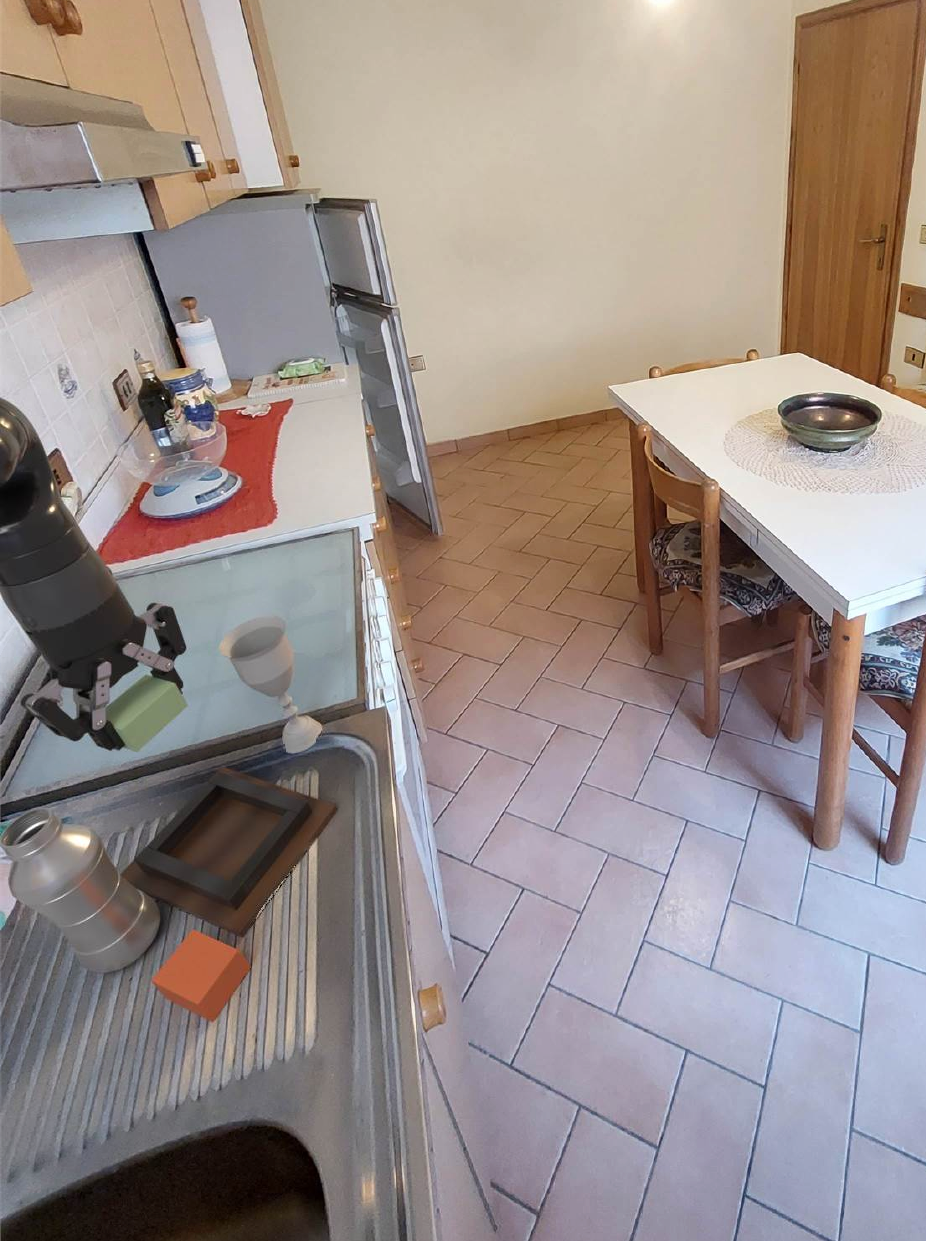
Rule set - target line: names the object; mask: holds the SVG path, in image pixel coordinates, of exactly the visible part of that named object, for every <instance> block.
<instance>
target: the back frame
mask: <svg viewBox="0 0 926 1241" xmlns="http://www.w3.org/2000/svg"><path fill="white" fill-rule="evenodd" d="M337 812H338V807H337V805H336V804H335V803H331V802H328V801H325V800H323V799H320V798H316V797H312V796H310V795H308V794H304V793H301V792H298V791H295V790H293V789H289V788H287V787H283V786H281V785H279V784H278V785H277V784H274V783H271V782H269V781H266V780H263V779H260V778H256V777H254V776H251V775H248V774H245V773H242V772H239V771H236V770H233V769H229V768H227V767H223V766H221V767H220V768H219V770H217V771H215V773H214V774H213V775H212V776H211V777H210V778H209V780H207V782H206V783H205V784H204V785H203V786H202V787H201V788H200V789H199V790H198V791H197V792H196V793H195V795H193V796H192V798H191V799H190V800H189V801H188V802H187V803H186V804H185V805H184V806H183V807H182V808H181V809H180V810H179V811H178V813H176V814H175V815H174V816H173V818H172V819H171V820H169V821H168V823H167V824H165V826H164V827H163V828H162V829H161V830H160V831H159V832H158V833H157V835H155V836H154V837H153V839H152V840H151V841H149V843H148V844H147V845H146V846H145V847H144V848H143V849H142V850H141V851H140V852H139V854H137V856H136V857H135V858H133V860H132V862H130V863H129V864H128V865H127V866H126V867H125V869H124V870H123V871H122V872H121V873H120V874H121V876H122V877H123V878H124V879H126V880H127V881H128V882H129V883H130V884H131V885H133V886H134V887H135V888H136V889H138V890H140V891H142V892H144V893H145V894H147V895H148V896H149V897H151V898H152V899H154V900H157V901H159V902H161V901H162V902H161V903H163V904H166V905H168V904H169V905H168V906H170V905H171V907H173V906H174V907H173V908H175V907H176V908H175V909H177V908H179V909H181V910H180V911H182V910H183V911H182V912H184V911H185V912H184V913H186V912H187V913H186V914H188V913H190V914H189V915H191V914H192V915H191V916H193V915H194V916H193V917H195V916H196V917H195V918H197V917H198V918H197V919H200V920H202V919H203V920H202V921H204V922H206V921H207V922H206V923H209V924H211V925H212V926H215V925H216V926H215V927H217V928H220V927H221V928H220V929H222V928H223V929H222V930H224V929H226V930H225V931H227V930H229V931H230V932H229V931H228V932H229V933H231V932H233V933H235V934H234V935H235V936H238V937H240V938H244V937H245V936H246V935H247V933H248V932H247V931H249V930H250V929H249V927H250V926H251V925H252V923H253V921H254V920H255V918H256V917H257V915H258V913H259V911H260V910H261V908H262V907H263V905H264V904H265V903H266V902H267V900H268V898H269V897H270V896H271V894H273V892H274V891H275V890H276V889H277V888H278V886H279V885H280V884H281V882H282V881H283V880H284V879H285V878H286V877H287V875H288V874H289V873H290V872H291V870H292V868H294V866H295V865H296V864H297V863H298V862H299V863H300V862H301V860H302V859H301V858H303V857H304V856H305V855H304V853H305V852H306V851H307V850H309V849H310V848H311V847H312V846H313V844H314V843H315V841H316V840H317V839H318V837H319V836H320V835H321V833H322V832H323V830H324V829H325V828H326V827H327V825H328V824H329V822H330V821H331V820H332V819H333V817H334V816H335V814H336V813H337ZM310 846H311V847H310ZM309 847H310V848H309ZM307 852H308V851H307ZM307 852H306V853H307ZM306 853H305V854H306ZM303 855H304V856H303ZM302 856H303V857H302ZM300 859H301V860H300ZM299 863H298V864H299ZM298 864H297V865H298ZM294 869H295V868H294ZM291 873H292V872H291ZM179 909H178V910H179ZM253 924H254V923H253ZM252 926H253V925H252ZM252 926H251V927H252ZM251 927H250V928H251ZM248 929H249V930H248ZM246 932H247V933H246ZM233 933H232V934H233ZM244 935H245V936H244ZM243 936H244V937H243Z"/></svg>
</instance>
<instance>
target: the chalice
mask: <svg viewBox="0 0 926 1241" xmlns="http://www.w3.org/2000/svg"><path fill="white" fill-rule="evenodd" d="M286 628H287V625H286V621H285V619H283V618H282V617H279V616H277V615H265V616H264V615H263V616H259V617H256V618H253V619H250V620H247V621H245V622H243V623H241V624H239V625H237V626H235V627H234V628H233V629H232V630H230V631H229V632H228V633H227V634H226V635H225V636H224V637H223V638H222V640H221V642H220V644H219V652H220V654H221V656H223V657H224V658H227V659H229V661H230V662H231V664H232V666H233V668H234V670H235V672H236V673H237V675H238V677H239V679H240V680H241V682H242V683H243V684H245V685H246V686H248V687H249V688H250V689H252V690H254V691H256V692H258V693H261V694H262V695H265V696H267V697H270V698H276V697H277V699H278V702H277V705H278V707H282V708H283V711H282V714H281V715H282V717H284V718H287V719H288V720H289V721H288V722H287V723H286V724H285V725H284V728H283V730H282V736H281V739H282V741H283V744H285V748H286V753H288V754H297V753H302V752H304V751H306V750H308V749H309V748H311V747H312V746H314V745H315V744H316V743H317V742H316V738H317V737H318V735H319V734H320V733H321V731H322V732H323V725H322V724H321V723H320V722H319V721H317V720H315V719H314V718H312V717H311V716H309V715H297V711H298V706H296V705H292V701H293V697H292V696H289V695H288V694H287V693H286V692H288V690H289V689H290V688H291V686H292V680H293V677H294V672H295V652H294V650H293V647H292V645H291V643H290V641H289V639H288V637H287V634H286ZM282 741H281V742H282Z"/></svg>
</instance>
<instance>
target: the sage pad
mask: <svg viewBox="0 0 926 1241" xmlns="http://www.w3.org/2000/svg"><path fill="white" fill-rule="evenodd" d="M188 706H189V704H188V703H187V701H186V699H185V697H184V695H183V694H181V692H180V691H179V689H178V687H177V686H176V684H175V683H173V682H169V681H165V680H162V679H159V678H155V677H153V676H152V675H149V674H145V675H143V676H142V677H141V678H139V679H138V680H137V681H136V682H134V684H132V685H131V686H130V687H129V688H127V689H126V690H125V691H123V692H122V693H121V694H120V695H119V696H117V697H116V698H115V699H114V700H113V701H111V702H109V703H108V704H107V705H106V720H108V721H111V723H112V724H113V726H114V729H115V730H116V731H117V733H118V734H119V736H120V737H121V739H122V740H123V741H124V743H125V746H124V747H123V748H124V749H127V750H130V751H132V752H134V753H138V752H140V750H142V748H144V747H145V746H146V745H147V744H148V743H149V742H150V741H151V740H152V739H154V738H155V737H156V736H157V735H158V734H159V733H160V732H161V731H162V730H164V729H165V727H167V726H168V725H169V724H170V723H171V722H172V721H173V720H175V719H176V718H177V717H178V716H179V715H180V714H181V713H182V712H183V711H184V710H185V709H187V707H188ZM123 748H122V749H123Z"/></svg>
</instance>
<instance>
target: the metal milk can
mask: <svg viewBox="0 0 926 1241" xmlns="http://www.w3.org/2000/svg"><path fill="white" fill-rule="evenodd" d="M0 847H1V849H2V850H3V851H4V852H5V855H6V857H7V858H8V859H9V860H10V861H12V863H11V865H10V870H9V873H8V879H7V880H8V888H9V891H10V894H11V896H12V897H13V898H15V900H17V901H18V902H20V903H21V904H23V905H24V906H26V907H28V908H30V909H31V910H33V911H35V912H37V913H38V914H40V915H42V916H44V917H45V918H46V919H47V920H49V921H50V922H51V923H52V924H53V925H55V926H56V927H57V928H58V929H59V930H60V932H61V933H62V934H63V936H64V937H65V938H66V940H67V942H68V943H69V944H70V946H71V948H72V951H73V954H74V955H75V957H76V959H77V961H78V963H79V965H81V967H83V968H84V969H86V970H88V971H91V972H93V973H96V974H109V973H113V972H117V971H119V970H122V969H124V968H126V967H128V966H130V965H131V964H132V963H134V962H135V961H136V960H138V959H139V958H140V957H141V956H142V955H143V954H144V953H145V952H146V951H147V950H148V949H149V947H150V946H151V945H152V943H153V942H154V940H155V938H156V936H157V934H158V931H159V927H160V925H161V912H160V909H159V907H158V904H157V903H156V901H155V899H154V898H152V897H150V896H148V895H147V894H145V893H144V892H142V891H140V890H138V889H136V888H135V887H134V886H133V885H131V884H130V883H129V882H128V881H127V880H126V879H124V878H123V877H122V876H121V873H120V872H119V870H118V868H117V867H116V865H115V864H114V863H113V861H112V860H111V858H110V856H109V853H108V852H107V850H106V847H105V845H104V843H103V841H102V838H101V837H100V836H99V834H98V833H97V831H96V830H95V829H94V828H91V827H89V826H86V825H83V824H72V823H65V824H64V823H63V820H62V819H61V818H60V817H59V816H57V815H56V814H55V812H53V810H51V809H50V808H48V807H37V808H34V809H30V810H29V811H26V812H24V813H23V814H21V815H20V816H18V817H16V818H15V819H14V820H13V821H11V822H10V824H8V825H7V826H6V827H5V829H4V830H3V831H2V833H1V835H0Z"/></svg>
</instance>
